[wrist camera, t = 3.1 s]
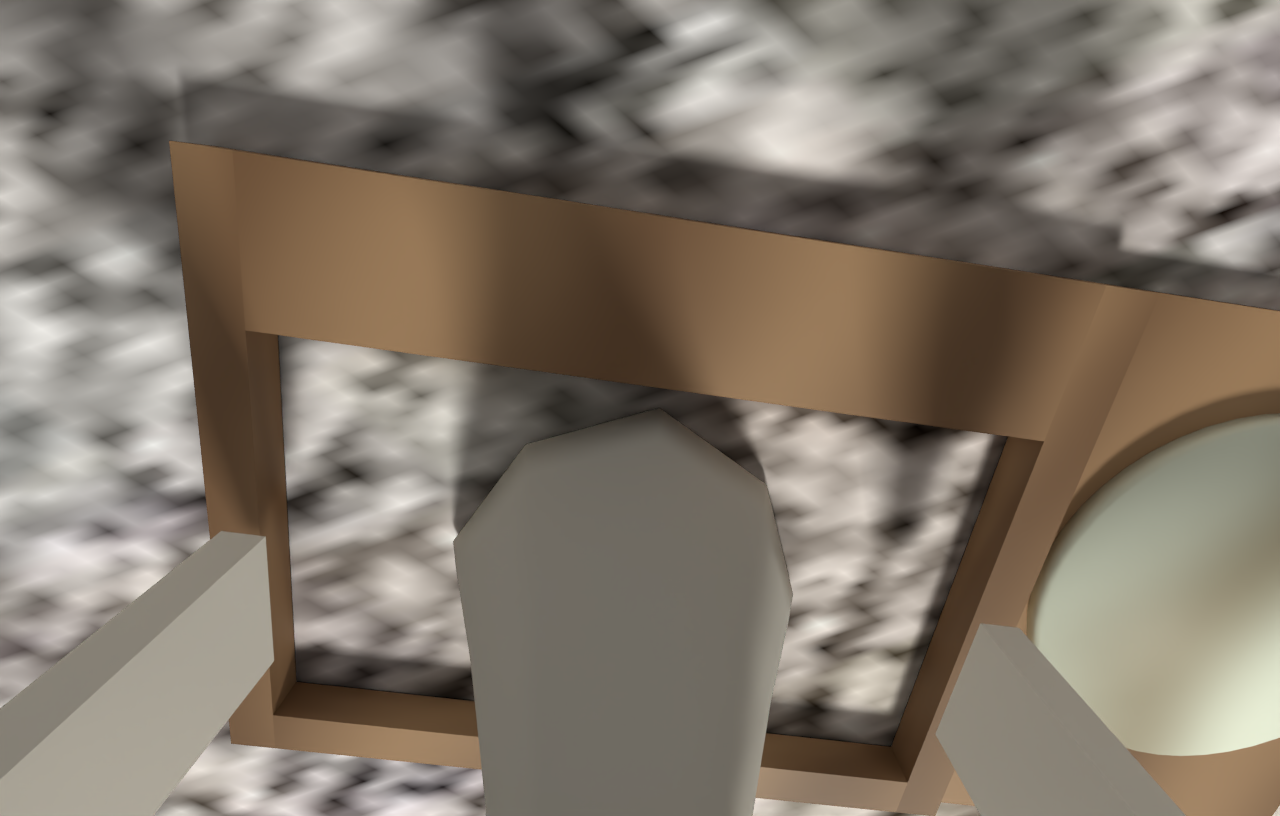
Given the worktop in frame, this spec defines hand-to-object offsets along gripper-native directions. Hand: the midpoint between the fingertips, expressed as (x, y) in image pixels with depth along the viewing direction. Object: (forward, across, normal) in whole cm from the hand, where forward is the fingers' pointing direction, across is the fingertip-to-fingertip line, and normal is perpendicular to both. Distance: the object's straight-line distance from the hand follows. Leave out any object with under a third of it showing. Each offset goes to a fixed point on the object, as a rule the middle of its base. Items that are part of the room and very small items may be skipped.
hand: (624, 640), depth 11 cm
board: (+2, -4, -1) cm, 5 cm away
